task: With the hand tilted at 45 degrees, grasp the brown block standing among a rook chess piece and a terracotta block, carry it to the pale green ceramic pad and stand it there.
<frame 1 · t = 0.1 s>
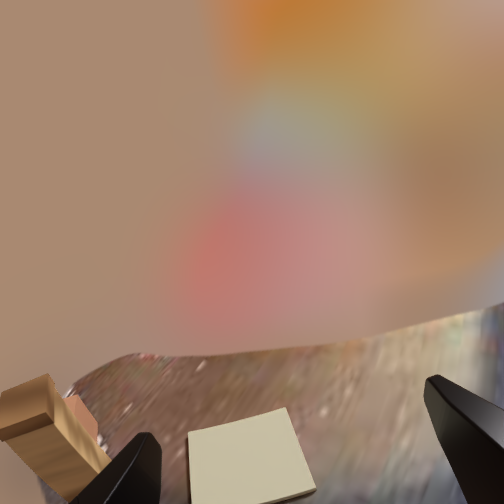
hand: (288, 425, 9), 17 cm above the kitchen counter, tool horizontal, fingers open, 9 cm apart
terracotta block: (80, 441, 28), on the kitchen counter
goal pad: (245, 462, 24), on the kitchen counter
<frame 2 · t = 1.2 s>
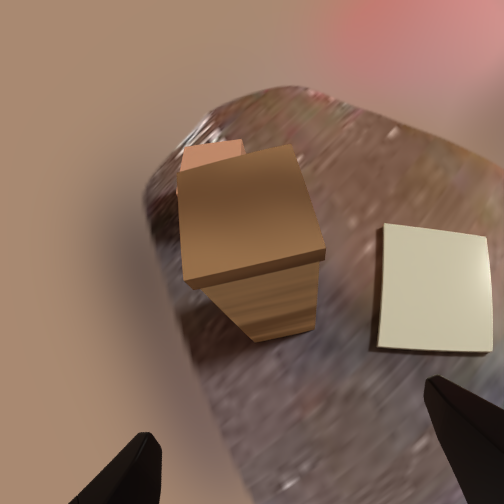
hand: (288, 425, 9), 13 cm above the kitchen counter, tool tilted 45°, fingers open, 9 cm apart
terracotta block: (224, 199, 29), on the kitchen counter
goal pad: (439, 288, 22), on the kitchen counter
brown block: (278, 307, 24), on the kitchen counter
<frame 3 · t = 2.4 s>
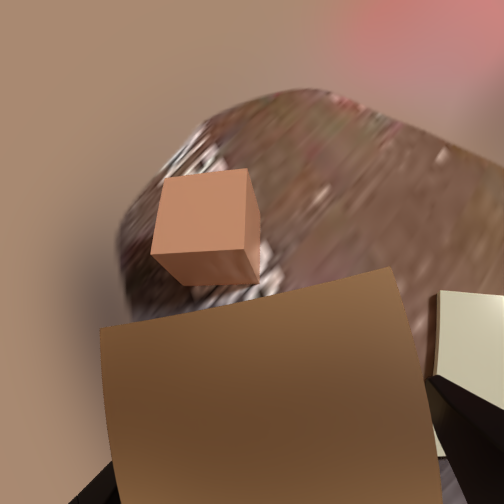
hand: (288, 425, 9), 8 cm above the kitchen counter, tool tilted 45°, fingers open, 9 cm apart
terracotta block: (222, 249, 21), on the kitchen counter
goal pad: (498, 373, 14), on the kitchen counter
brown block: (297, 411, 16), on the kitchen counter
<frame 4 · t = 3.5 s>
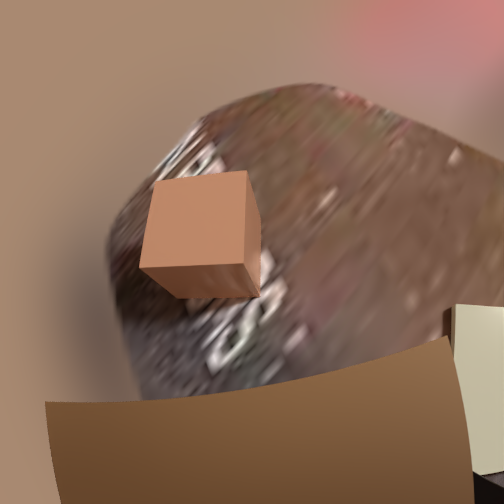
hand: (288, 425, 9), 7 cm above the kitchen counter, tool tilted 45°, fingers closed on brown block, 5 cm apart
terracotta block: (219, 258, 20), on the kitchen counter
brown block: (301, 435, 14), on the kitchen counter, touching gripper
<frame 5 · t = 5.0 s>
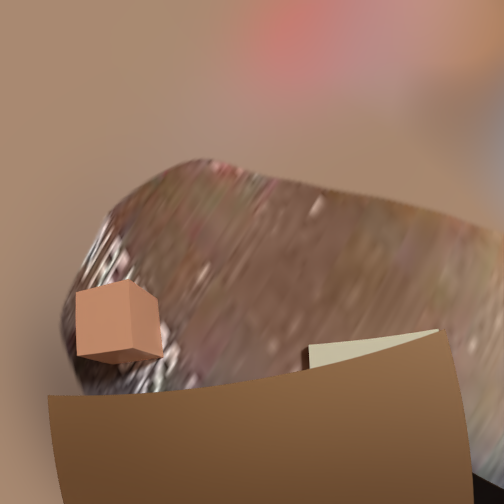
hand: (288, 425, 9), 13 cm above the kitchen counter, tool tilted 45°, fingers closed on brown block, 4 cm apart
terracotta block: (134, 332, 25), on the kitchen counter
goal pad: (380, 405, 20), on the kitchen counter
brown block: (301, 435, 14), point 6 cm above the kitchen counter, touching gripper
when the fingers open (9 cm above the kitchen counter, at t = 6.5 s): brown block drops 1 cm, resting on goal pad.
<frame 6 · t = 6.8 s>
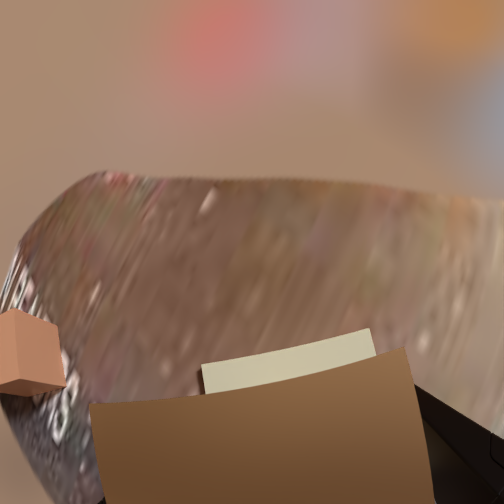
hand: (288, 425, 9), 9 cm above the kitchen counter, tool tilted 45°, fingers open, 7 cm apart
terracotta block: (41, 362, 20), on the kitchen counter
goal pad: (301, 431, 16), on the kitchen counter
brown block: (300, 433, 15), point 1 cm above the kitchen counter, touching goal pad
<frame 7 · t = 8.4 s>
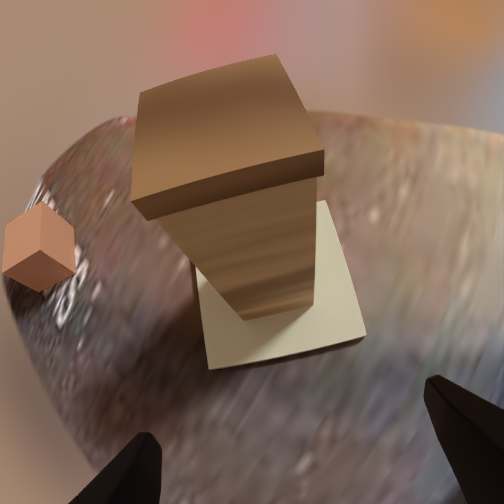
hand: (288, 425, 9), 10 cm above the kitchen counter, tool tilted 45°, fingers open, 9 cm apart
terracotta block: (55, 260, 26), on the kitchen counter
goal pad: (273, 282, 21), on the kitchen counter
brown block: (271, 280, 21), point 1 cm above the kitchen counter, touching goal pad
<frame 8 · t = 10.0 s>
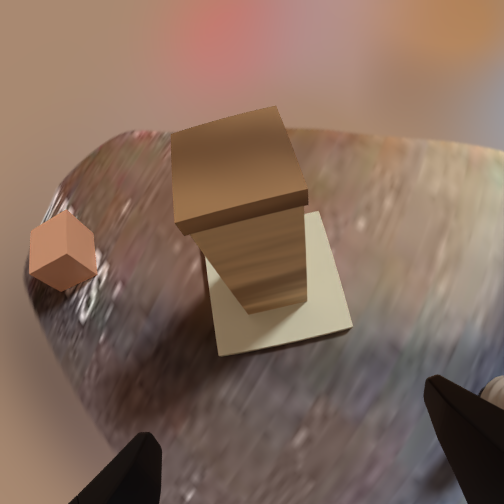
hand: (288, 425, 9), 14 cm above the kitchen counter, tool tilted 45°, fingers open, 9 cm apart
terracotta block: (77, 262, 30), on the kitchen counter
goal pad: (273, 282, 25), on the kitchen counter
rook chess piece: (495, 402, 17), on the kitchen counter
brown block: (271, 280, 25), point 1 cm above the kitchen counter, touching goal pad
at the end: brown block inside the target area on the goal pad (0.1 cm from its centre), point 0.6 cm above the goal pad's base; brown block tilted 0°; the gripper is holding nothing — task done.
